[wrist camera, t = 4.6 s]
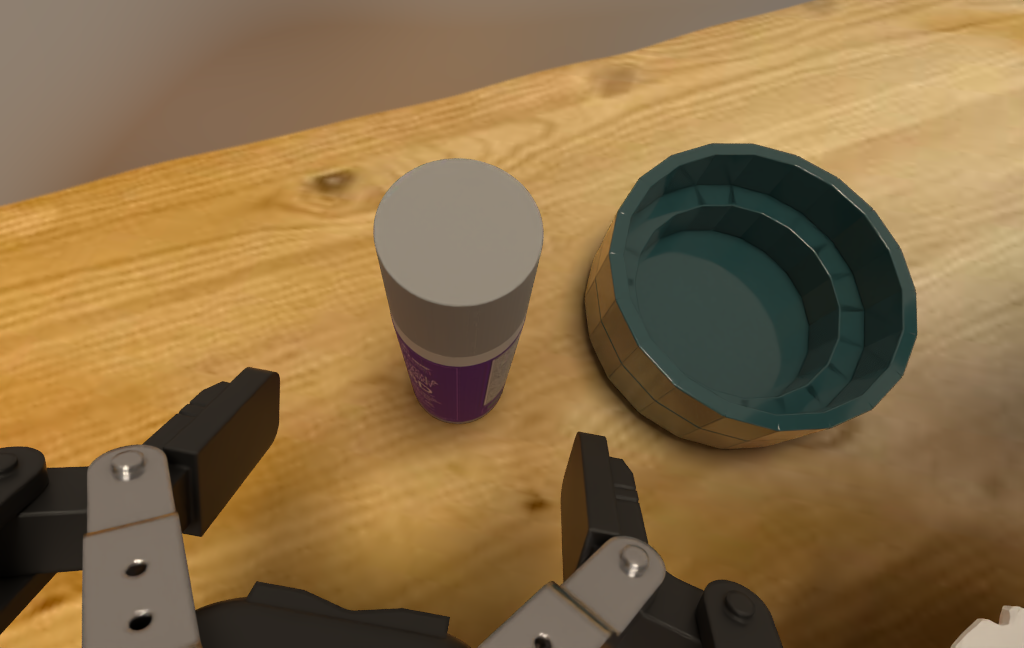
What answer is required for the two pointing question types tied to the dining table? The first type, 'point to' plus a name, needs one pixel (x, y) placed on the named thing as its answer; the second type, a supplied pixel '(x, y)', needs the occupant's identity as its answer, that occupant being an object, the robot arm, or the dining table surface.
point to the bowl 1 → (749, 298)
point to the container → (458, 279)
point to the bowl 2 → (995, 631)
